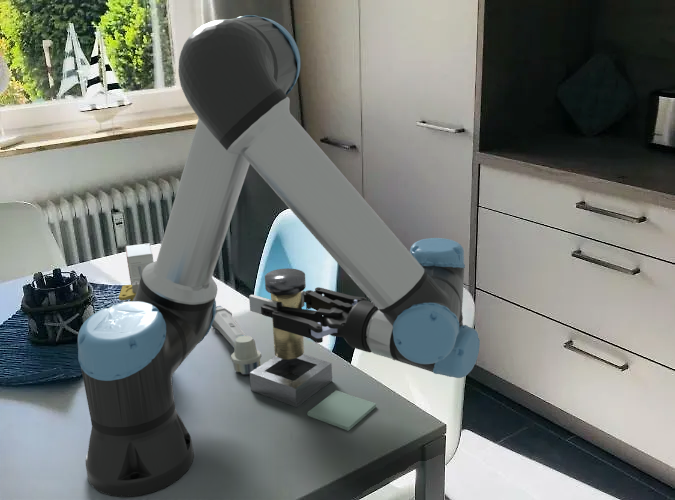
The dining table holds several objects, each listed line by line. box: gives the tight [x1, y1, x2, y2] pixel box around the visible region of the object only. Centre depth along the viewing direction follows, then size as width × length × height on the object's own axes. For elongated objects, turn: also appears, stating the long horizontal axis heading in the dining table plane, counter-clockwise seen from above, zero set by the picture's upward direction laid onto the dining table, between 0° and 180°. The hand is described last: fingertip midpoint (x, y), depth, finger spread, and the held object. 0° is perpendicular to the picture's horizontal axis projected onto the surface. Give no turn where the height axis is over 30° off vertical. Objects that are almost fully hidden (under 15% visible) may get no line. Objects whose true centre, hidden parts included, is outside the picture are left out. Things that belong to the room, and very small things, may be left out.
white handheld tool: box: [212, 305, 263, 375], centre depth 139 cm, size 5×7×25 cm
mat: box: [306, 389, 377, 431], centre depth 117 cm, size 8×8×1 cm
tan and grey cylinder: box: [264, 268, 306, 359], centre depth 120 cm, size 7×7×14 cm
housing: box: [249, 353, 333, 408], centre depth 124 cm, size 10×10×4 cm
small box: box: [125, 242, 154, 285], centre depth 166 cm, size 8×6×10 cm
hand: (262, 296), depth 122 cm, fingers closed on tan and grey cylinder, 5 cm apart
